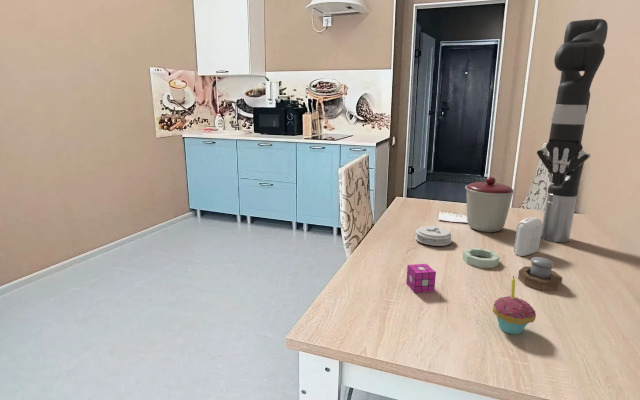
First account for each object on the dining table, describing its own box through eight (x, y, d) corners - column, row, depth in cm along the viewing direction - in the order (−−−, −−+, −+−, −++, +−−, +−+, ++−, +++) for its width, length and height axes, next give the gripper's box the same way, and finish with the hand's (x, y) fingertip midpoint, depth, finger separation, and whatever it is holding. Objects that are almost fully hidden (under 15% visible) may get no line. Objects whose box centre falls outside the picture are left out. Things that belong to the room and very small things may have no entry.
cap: (532, 274, 114) (535, 255, 112) (552, 280, 110) (556, 261, 108) (525, 280, 110) (528, 260, 108) (546, 286, 106) (549, 266, 105)
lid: (447, 236, 147) (448, 224, 146) (454, 249, 135) (456, 235, 133) (413, 235, 148) (414, 222, 147) (417, 247, 136) (418, 233, 135)
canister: (512, 226, 159) (519, 176, 154) (505, 239, 144) (513, 183, 139) (466, 219, 168) (471, 171, 163) (456, 230, 154) (461, 178, 148)
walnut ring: (526, 271, 117) (528, 263, 116) (564, 282, 110) (565, 274, 109) (513, 281, 110) (515, 273, 109) (552, 294, 103) (554, 285, 102)
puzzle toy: (425, 282, 109) (426, 263, 108) (434, 291, 104) (436, 272, 102) (406, 283, 108) (407, 264, 107) (414, 293, 103) (415, 273, 102)
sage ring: (472, 252, 131) (473, 245, 130) (502, 261, 124) (503, 254, 123) (458, 260, 124) (458, 253, 124) (489, 270, 117) (489, 262, 116)
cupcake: (483, 318, 91) (489, 271, 88) (518, 317, 92) (525, 270, 89) (503, 340, 83) (510, 289, 80) (541, 339, 83) (550, 288, 80)
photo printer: (527, 247, 136) (533, 213, 133) (540, 251, 133) (545, 217, 130) (511, 253, 131) (516, 218, 128) (523, 257, 127) (529, 221, 124)
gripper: (601, 123, 101) (588, 187, 106) (545, 120, 111) (536, 180, 115) (593, 124, 96) (581, 191, 101) (536, 121, 106) (527, 183, 110)
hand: (557, 185), depth 108 cm, fingers closed
